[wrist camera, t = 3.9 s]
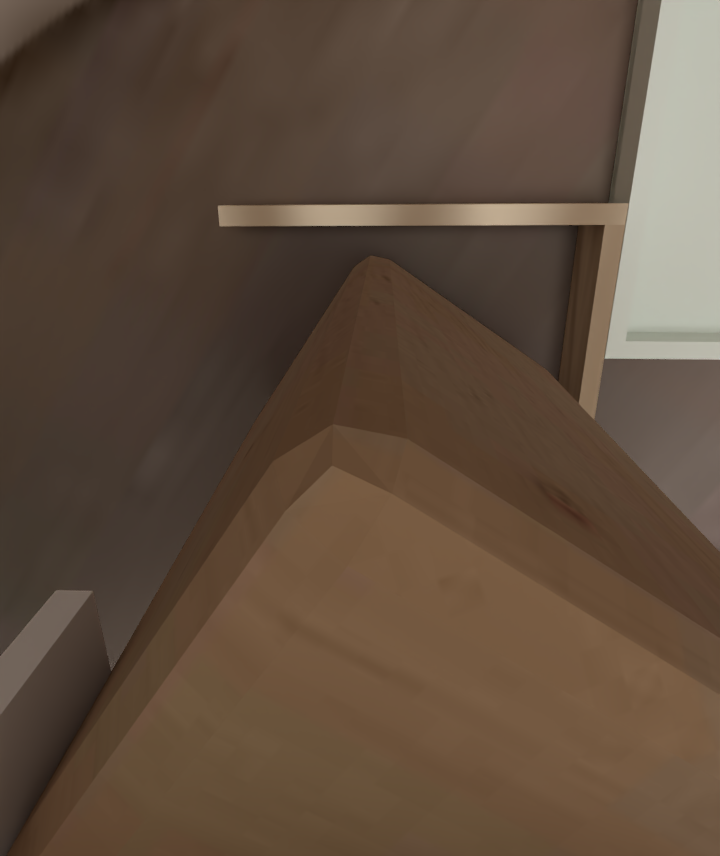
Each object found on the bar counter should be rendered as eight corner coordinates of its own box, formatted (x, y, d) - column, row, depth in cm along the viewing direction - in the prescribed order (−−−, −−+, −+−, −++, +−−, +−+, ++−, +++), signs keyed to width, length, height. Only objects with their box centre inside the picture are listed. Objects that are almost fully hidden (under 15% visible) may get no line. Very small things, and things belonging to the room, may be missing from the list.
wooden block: (369, 242, 23) (312, 423, 5) (558, 375, 25) (1064, 890, 6) (248, 430, 26) (-66, 972, 8) (423, 535, 28) (500, 1179, 10)
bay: (263, 512, 33) (249, 546, 30) (239, 204, 27) (217, 205, 24) (554, 519, 32) (572, 555, 29) (599, 202, 26) (628, 203, 23)
